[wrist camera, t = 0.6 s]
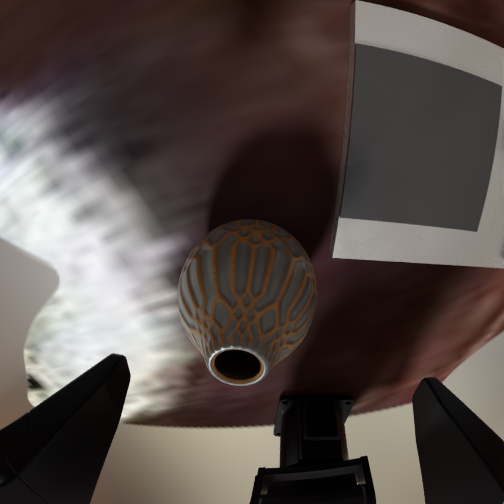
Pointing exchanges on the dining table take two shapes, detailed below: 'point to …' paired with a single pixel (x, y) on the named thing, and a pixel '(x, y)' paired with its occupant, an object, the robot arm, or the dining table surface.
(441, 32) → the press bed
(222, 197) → the dining table surface
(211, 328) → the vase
